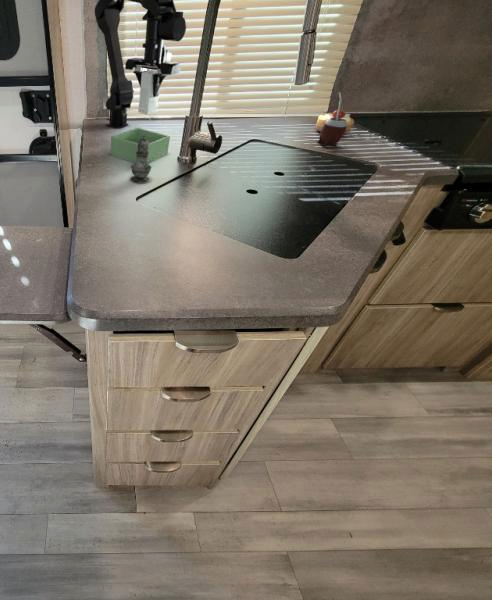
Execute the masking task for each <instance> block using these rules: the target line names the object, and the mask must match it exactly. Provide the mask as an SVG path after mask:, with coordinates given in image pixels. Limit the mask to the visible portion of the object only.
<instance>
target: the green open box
mask: <svg viewBox="0 0 492 600" xmlns="http://www.w3.org/2000/svg"><path fill="white" fill-rule="evenodd" d="M144 135H145V138H146V139H147V140H148V141H149V145H148V152H149V154H148V158H147V163H148V164H149V163H151V162H153V161H155V160H157V159H159V158H162V157H164V156H167V155H168V154H169V153H168V152H169V146H170V138H171V136H170V135H168V134H164V133H159V132H156V131H152V130H147V129H145V128H144V129H143V128H140V127H135V128H132V129H130V130H127V131H124V132H120V133H118V134H114V135H111V136H110V155H111V156H114V157H117V158H120V159H123V160H126V161H129V162H132V163H134V164H135V163H136V159H137V154H136V152H137V150H138V141H139V140H140V139H142V138H143V136H144Z"/></svg>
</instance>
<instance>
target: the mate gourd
mask: <svg viewBox="0 0 492 600" xmlns="http://www.w3.org/2000/svg"><path fill="white" fill-rule="evenodd" d="M338 98H339V101H338V107H337V110H338V111H337V116H336V118H330V119H328V120H327V121H326V122H325V124H324V125H323V127H322V130H321V132H320V133H319V139H318V140H317V141H316V142H317V143H318V144H322V145H321V146H322V147H326V146H330V147H334V148H336V147H337V146H338V143H339V142H340V141H341V140H342V138H343V134H344V133H345V131H346V128H347V121H346V120H345V119H342V118H338V115H339V111H340V110H341V108H342V107H341V106H342V104H343V99H342V93H341V92H340V91H338ZM345 134H346V133H345ZM345 134H344V135H345Z"/></svg>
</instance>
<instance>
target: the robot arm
mask: <svg viewBox="0 0 492 600" xmlns="http://www.w3.org/2000/svg"><path fill="white" fill-rule="evenodd" d="M127 1H129V2H133V3H138V4H140V5H141V7H142V8H143V9H145V10H147V11H146V12H145V14H144V15H143V16H142V17H141V20H142V21H146V28H145V40H144V43H142V46H141V47H142V48H143V49H144V54H143V55H144V56H143V58H141V57H131V58H127V59H126V61H125V65H124V61H123V56H122V49H121V48H122V47H121V44H120V43H121V42H120V37H119V30H118V29H119V26H120V22H121V12H123V10H124V7H125V0H98V1H97V2H96V5H95V7H94V17H95V20H96V24H97V26H98V28H99V30H100V31H101V33H102V34H103V36H104V37H103V38H104V42H105V49H106V52H107V54H106V55H107V59H108V65H109V70H110V75H111V84H110V87H109V94H110V96H109V97H108V98H107V100H106V101H105V108H106V110H108V111H109V120H108V121H109V122H108V123H106V126H107V127H112V128H115V129H122V128H124V127H126V126H129V123H127V121H128V113H127V111H128V110H127V109H130V108H131V105H132V102H133V100H134V93H135V91H134V88H133V81H132V80H131V79H128V78H127V76H126V73H125V70H128V71H129V70H130V71H133V70H134V71H133V74H134V75H135V77H136V80H137V82H138V85H139V88H141V77H142V72H146V71H151V70H152V71H157V73H156V74H153V97H156V95H157V93H158V90H159V91H160V89H161V85H162V83H163V81H164V80H165V79H166V78H167V76H172V75H176V74H180V73H181V64H180V62H178V61H172V57H173V53H172V52H170V51H169V50H168V49H166V42H164V41H168V42H181V41H182V40H183V38H184V37H185V36H186V35H185V34H186V31H187V23H186V19H185V17H184V11H183V10H182V11H180V10H179V11H177V9H176V5H175V2H174V0H127ZM124 66H125V67H124Z"/></svg>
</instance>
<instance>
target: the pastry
mask: <svg viewBox="0 0 492 600" xmlns="http://www.w3.org/2000/svg"><path fill="white" fill-rule="evenodd" d="M341 106H342V107H341V109H340V111H339V115H338V118H342V119H345V120H346V121H347V128H346V131H345V133H344V134H343V135H346V134H347V133H349V131H350V130H351V129H352V128H353V125H354V124H355V120H354V119H353V118H352V117H350V116H349V115H347V114H346V112H345V111H344V105H341ZM337 111H338V109H335V110H334V111H333V113H331V112H329V113H328V112H327V113H322V114H321V115H319V116H318V118H317V121H316V130H317V131H318V132H320V133H321V130H322V127H323V125H324V124H325V122H326V121H327V120H328V119H330V118H336V116H337Z"/></svg>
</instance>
